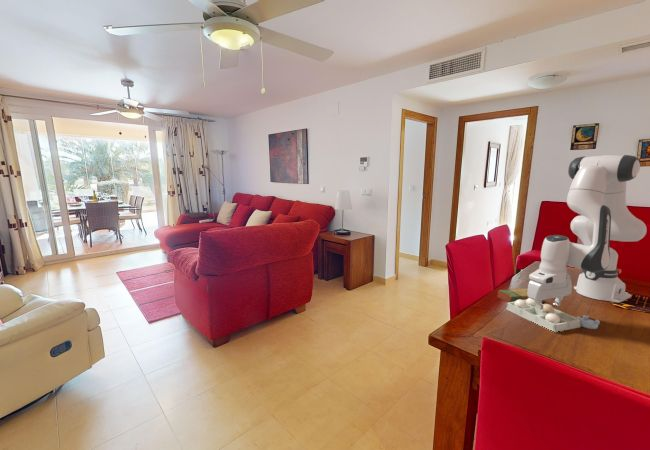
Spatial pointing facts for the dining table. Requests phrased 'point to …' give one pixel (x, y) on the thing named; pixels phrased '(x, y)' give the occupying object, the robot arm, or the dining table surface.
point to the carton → (513, 294)
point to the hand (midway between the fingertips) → (548, 307)
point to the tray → (539, 317)
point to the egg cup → (588, 322)
